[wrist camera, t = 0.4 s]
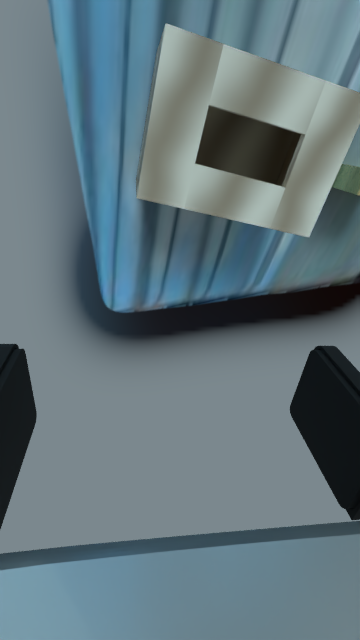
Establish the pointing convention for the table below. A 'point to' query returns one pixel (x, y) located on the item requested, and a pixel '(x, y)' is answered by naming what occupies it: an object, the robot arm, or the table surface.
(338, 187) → the yellow flat block
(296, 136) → the box
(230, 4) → the table surface
